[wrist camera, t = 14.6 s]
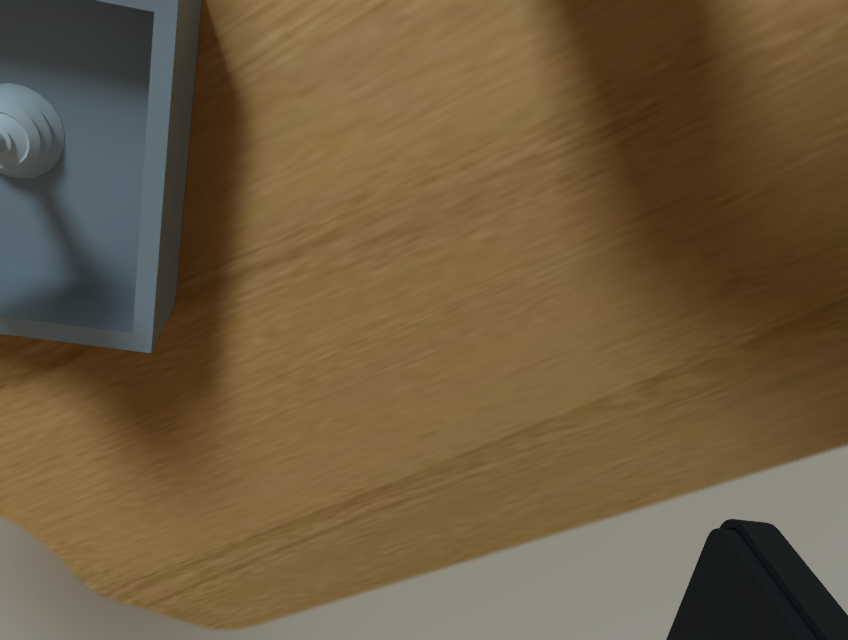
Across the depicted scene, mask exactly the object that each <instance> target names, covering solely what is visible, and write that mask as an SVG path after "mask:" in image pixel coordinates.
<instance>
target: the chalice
mask: <svg viewBox="0 0 848 640" xmlns="http://www.w3.org/2000/svg"><path fill="white" fill-rule="evenodd" d="M64 137H65V134H64V130H63V126H62V122H61V119H60V117H59V116H58V114H57V112H56V111H55V109H54V107H53V106H52V105H51V104H50V103H49V102H48V101H47V100H46V99H45V98H44V97H43V96H42V95H41V94H39V93H37V92H35V91H33V90H31V89H30V88H28V87H26V86H22V85H17V84H12V83H4V84H0V173H1V174H3V175H5V176H9V177H14V178H19V179H25V178H34V177H38V176H40V175H42V174H44V173H46V172H48V171H49V170H50V169H51V168H52V167H53V166H54V165H55V164H56V163H57V162H58V161H59V159H60V156H61V154H62V152H63V150H64Z"/></svg>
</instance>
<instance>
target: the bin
mask: <svg viewBox="0 0 848 640" xmlns="http://www.w3.org/2000/svg"><path fill="white" fill-rule="evenodd" d="M201 2H202V0H0V84H4V83H12V84H17V85H22V86H26V87H28V88H30V89H31V90H33V91H35V92H37V93H39V94H41V95H42V96H43V97H44V98H45V99H46V100H47V101H48V102H49V103H50V104H51V105H52V106H53V107H54V109H55V111H56V112H57V114H58V116H59V117H60V119H61V122H62V126H63V130H64V134H65V137H64V150H63V152H62V154H61V156H60V159H59V161H58V162H57V163H56V164H55V165H54V166H53V167H52V168H51V169H50V170H49V171H48V172H46V173H44V174H42V175H40V176H38V177H34V178H25V179H19V178H14V177H9V176H5V175H3V174H1V173H0V334H4V335H12V336H20V337H27V338H35V339H43V340H51V341H59V342H66V343H74V344H82V345H90V346H98V347H105V348H113V349H121V350H129V351H137V352H144V353H152V351H153V349H154V346H155V344H156V342H157V340H158V338H159V336H160V334H161V332H162V330H163V328H164V326H165V324H166V322H167V320H168V318H169V316H170V314H171V312H172V310H173V308H174V306H175V300H176V289H177V277H178V266H179V254H180V243H181V231H182V220H183V208H184V197H185V186H186V174H187V163H188V151H189V140H190V128H191V117H192V105H193V94H194V82H195V71H196V59H197V48H198V36H199V25H200V14H201Z"/></svg>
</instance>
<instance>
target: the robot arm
mask: <svg viewBox="0 0 848 640" xmlns="http://www.w3.org/2000/svg"><path fill="white" fill-rule="evenodd" d="M667 640H848V615H847V614H846V613H845V612H844V610H843V609H842V608H841V607H840V605H839V604H838V603H837V602H836V600H835V599H834V598H833V597H832V596H831V594H830V593H829V592H828V591H827V590H826V588H825V587H824V586H823V584H822V583H821V582H820V581H819V580H818V578H817V577H816V576H815V575H814V573H813V572H812V571H811V570H810V568H809V567H808V566H807V565H806V563H805V562H804V561H803V560H802V558H801V557H800V556H799V555H798V554H797V552H796V551H795V550H794V549H793V547H792V546H791V545H790V544H789V542H788V541H787V540H786V539H785V537H784V536H783V535H782V534H781V533H780V531H779V530H778V529H777V528H776V527H775V526H774V525H772V524H769V523H763V522H753V521H745V520H736V519H730V520H726V521H725V522H724V523H723V524H722V525H721V527H720V528H717V529H714V530H712V531H711V532H710V534H709V536H708V538H707V540H706V542H705V545H704V547H703V550H702V552H701V555H700V557H699V560H698V562H697V565H696V567H695V570H694V572H693V575H692V577H691V580H690V582H689V585H688V587H687V590H686V592H685V595H684V597H683V600H682V602H681V605H680V607H679V610H678V612H677V615H676V617H675V620H674V622H673V625H672V627H671V630H670V632H669V635H668V637H667Z"/></svg>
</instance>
